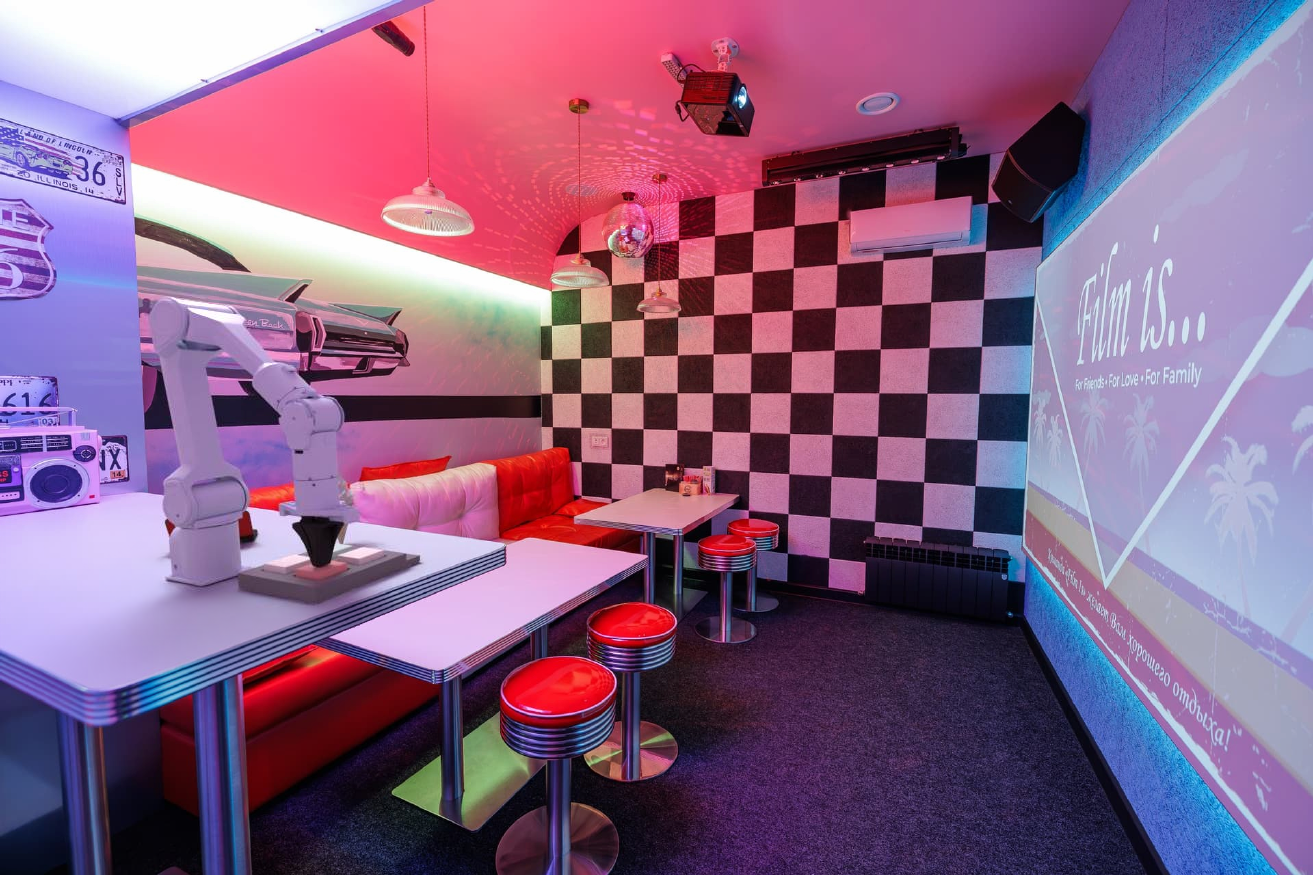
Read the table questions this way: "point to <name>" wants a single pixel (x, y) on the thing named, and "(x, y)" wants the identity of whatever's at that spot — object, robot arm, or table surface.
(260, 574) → the keypad frame
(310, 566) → the coral key
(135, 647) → the table surface
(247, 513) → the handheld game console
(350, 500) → the ice cream cone
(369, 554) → the ivory key
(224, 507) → the robot arm
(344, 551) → the mint key
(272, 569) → the ivory key
